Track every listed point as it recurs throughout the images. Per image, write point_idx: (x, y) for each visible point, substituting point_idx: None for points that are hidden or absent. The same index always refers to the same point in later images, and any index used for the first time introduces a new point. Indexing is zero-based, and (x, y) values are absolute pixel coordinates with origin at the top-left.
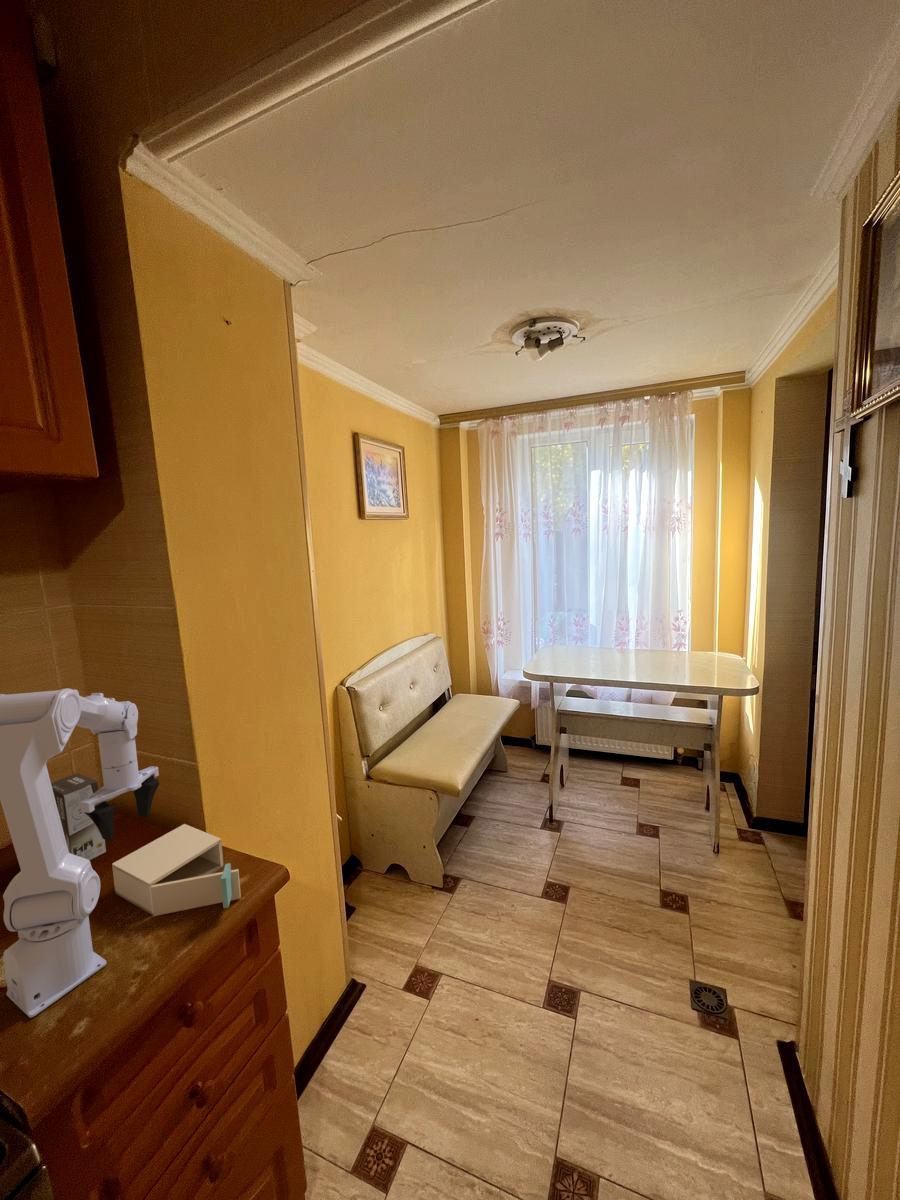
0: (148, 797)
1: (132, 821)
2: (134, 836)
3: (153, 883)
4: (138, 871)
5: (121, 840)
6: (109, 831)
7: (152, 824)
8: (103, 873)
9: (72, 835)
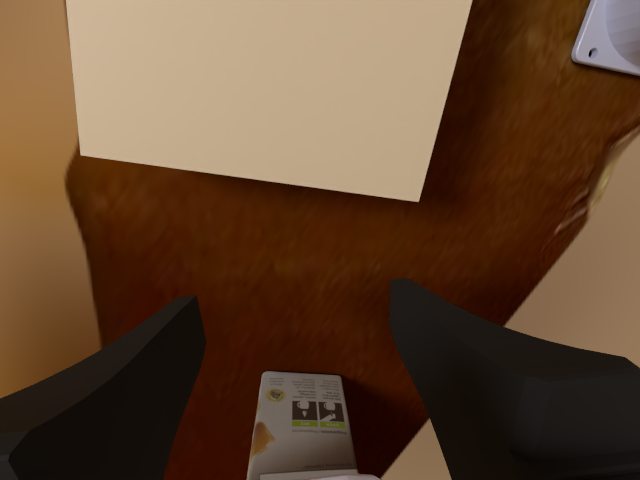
0: (125, 365)
1: None
2: None
3: None
4: (441, 19)
5: (211, 382)
6: (438, 296)
7: None
8: (329, 293)
9: (348, 464)
